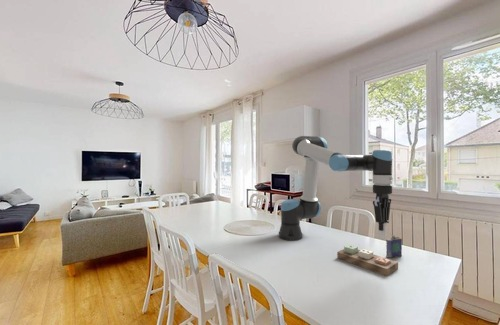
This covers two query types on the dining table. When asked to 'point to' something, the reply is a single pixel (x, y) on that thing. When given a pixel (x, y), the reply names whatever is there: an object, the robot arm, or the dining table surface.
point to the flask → (394, 247)
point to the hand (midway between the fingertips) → (382, 237)
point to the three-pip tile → (383, 261)
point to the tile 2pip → (366, 254)
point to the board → (368, 262)
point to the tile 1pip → (350, 249)
